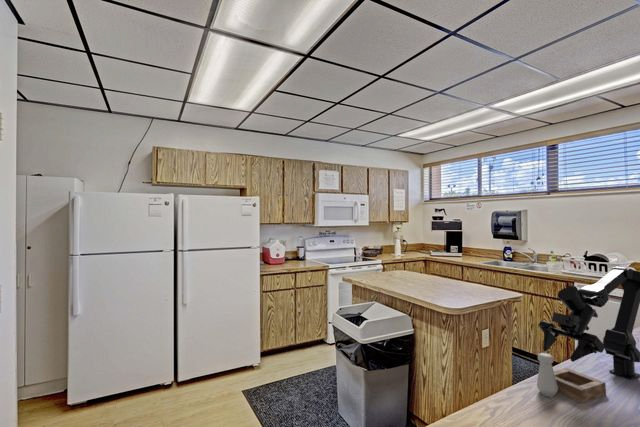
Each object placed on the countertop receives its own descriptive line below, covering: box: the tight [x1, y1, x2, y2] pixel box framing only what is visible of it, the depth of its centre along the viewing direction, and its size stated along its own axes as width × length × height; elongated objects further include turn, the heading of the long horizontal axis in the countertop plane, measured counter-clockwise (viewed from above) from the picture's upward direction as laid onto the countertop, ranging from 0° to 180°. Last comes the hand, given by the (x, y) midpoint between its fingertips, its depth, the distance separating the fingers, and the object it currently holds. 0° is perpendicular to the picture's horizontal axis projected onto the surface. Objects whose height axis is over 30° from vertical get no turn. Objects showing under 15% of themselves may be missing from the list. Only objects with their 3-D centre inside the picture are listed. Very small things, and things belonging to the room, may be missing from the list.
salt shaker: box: [536, 352, 558, 398], centre depth 108 cm, size 6×6×13 cm
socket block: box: [553, 367, 607, 404], centre depth 109 cm, size 12×12×4 cm
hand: (557, 355), depth 110 cm, fingers open, 9 cm apart
